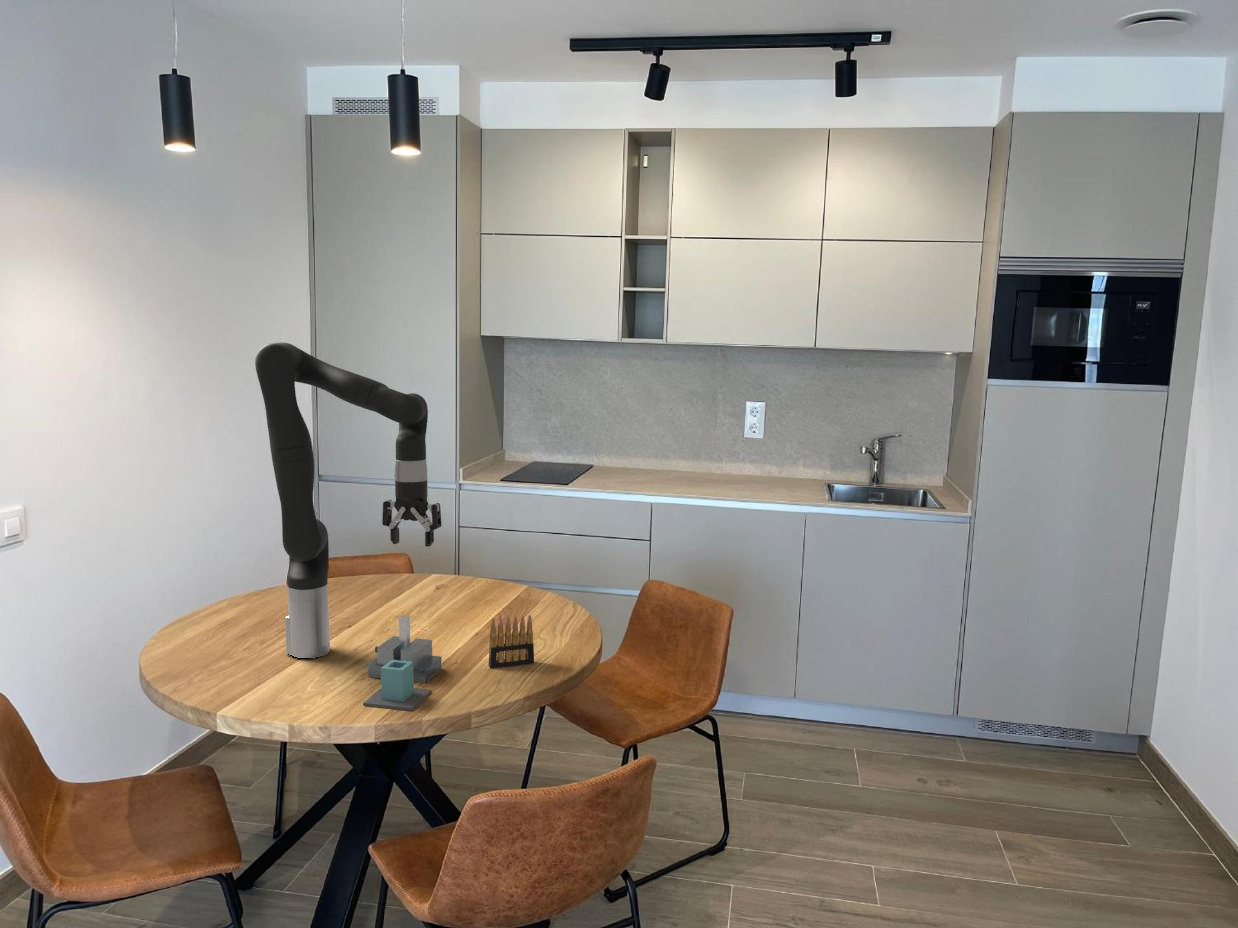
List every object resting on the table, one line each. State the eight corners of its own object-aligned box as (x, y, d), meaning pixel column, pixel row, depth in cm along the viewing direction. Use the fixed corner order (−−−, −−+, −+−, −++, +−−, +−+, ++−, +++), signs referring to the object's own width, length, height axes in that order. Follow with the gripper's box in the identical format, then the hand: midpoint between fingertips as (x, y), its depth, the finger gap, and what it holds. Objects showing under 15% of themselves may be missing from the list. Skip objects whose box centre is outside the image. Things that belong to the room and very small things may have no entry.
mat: (363, 705, 188) (363, 702, 188) (385, 687, 197) (385, 684, 197) (411, 710, 185) (411, 708, 185) (431, 692, 195) (431, 689, 195)
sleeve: (381, 699, 190) (380, 667, 188) (392, 690, 194) (391, 659, 193) (403, 701, 188) (402, 670, 187) (413, 692, 193) (413, 661, 192)
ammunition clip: (532, 660, 215) (532, 612, 213) (534, 663, 213) (534, 615, 211) (488, 665, 211) (488, 617, 209) (490, 668, 209) (489, 619, 208)
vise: (367, 676, 203) (365, 619, 201) (385, 662, 212) (384, 608, 210) (425, 682, 200) (424, 625, 198) (441, 668, 209) (440, 612, 207)
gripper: (445, 477, 213) (446, 543, 216) (391, 474, 217) (392, 539, 219) (432, 482, 206) (432, 550, 209) (376, 478, 209) (377, 546, 212)
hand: (412, 544), depth 214 cm, fingers open, 8 cm apart
